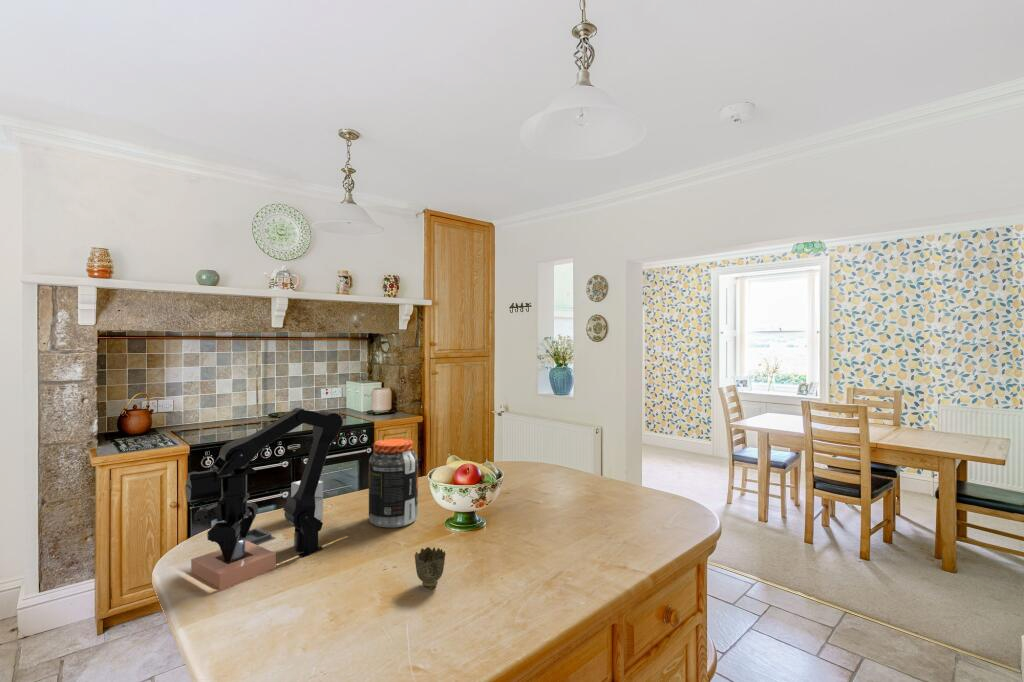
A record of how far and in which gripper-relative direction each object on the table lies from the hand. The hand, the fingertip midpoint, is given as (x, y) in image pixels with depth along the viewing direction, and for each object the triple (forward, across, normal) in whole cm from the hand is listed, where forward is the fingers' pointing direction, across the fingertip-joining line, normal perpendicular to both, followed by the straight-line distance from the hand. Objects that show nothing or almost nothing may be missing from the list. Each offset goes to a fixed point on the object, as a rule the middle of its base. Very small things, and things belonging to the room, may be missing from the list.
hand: (234, 553), depth 128 cm
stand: (+5, -18, -2) cm, 19 cm away
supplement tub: (+5, -29, +39) cm, 49 cm away
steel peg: (+5, 0, 0) cm, 5 cm away
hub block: (+5, 0, 0) cm, 5 cm away
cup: (+5, +16, +49) cm, 52 cm away
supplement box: (+5, -34, +11) cm, 36 cm away
